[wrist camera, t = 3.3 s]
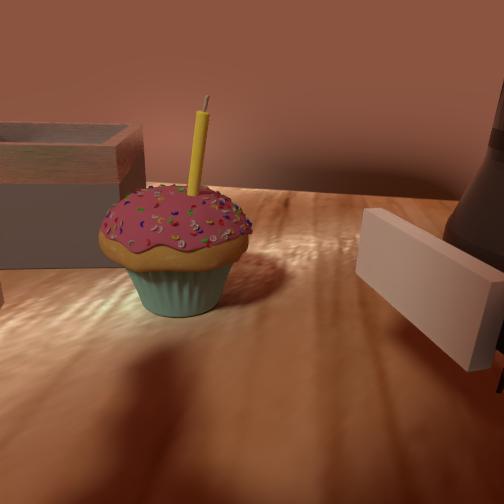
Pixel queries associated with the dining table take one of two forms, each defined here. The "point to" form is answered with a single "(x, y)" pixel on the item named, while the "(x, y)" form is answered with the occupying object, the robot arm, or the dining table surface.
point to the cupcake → (177, 239)
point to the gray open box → (59, 222)
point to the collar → (68, 152)
